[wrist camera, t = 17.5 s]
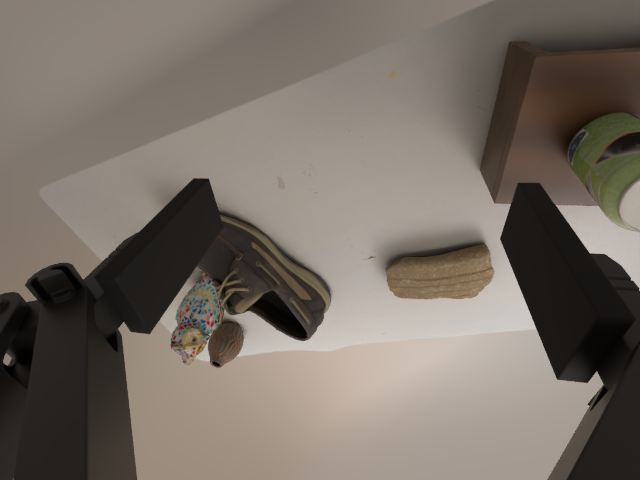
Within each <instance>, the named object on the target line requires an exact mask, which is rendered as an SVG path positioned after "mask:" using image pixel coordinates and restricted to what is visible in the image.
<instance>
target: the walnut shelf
mask: <svg viewBox="0 0 640 480" xmlns="http://www.w3.org/2000/svg"><path fill="white" fill-rule="evenodd" d="M620 112H626V113H633V114H637V115H640V47H637V48H619V49H600V50H581V51H563V52H547V51H545V50H543V49H541V48H538V47H536V46H534V45H532V44H530V43H528V42H526V41H521V42H510V43H509V47H508V51H507V56H506V60H505V64H504V69H503V73H502V77H501V81H500V86H499V90H498V94H497V99H496V103H495V107H494V112H493V116H492V120H491V125H490V129H489V133H488V138H487V142H486V146H485V151H484V155H483V159H482V163H481V168H480V171H481V174H482V176H483V178H484V180H485V183H486V185H487V187H488V189H489V192H490V194H491V196H492V199H493V201H494V203H501V204H511V203H512V200H513V197H514V193H515V190H516V187H517V184H518V183H540V184H541V186H542V187H543V188H544V190H545V191H546V193H547V194H548V195H549V197H550V198H551V200H552V201H553V202H554V204H555V205H586V206H598V204H597V203H596V202H595V200H594V199H593V197H592V196H591V195H590V193H589V192H588V191H587V189H586V188H585V187H584V185H583V184H582V183H581V181H580V180H579V178H578V177H577V176H576V174H575V173H574V172H573V170H572V169H571V167H570V166H569V163H568V159H567V153H568V148H569V145H570V143H571V141H572V139H573V138H574V136H575V135H576V134H577V133H578V132H579V131H580V130H581V129H582V128H583V127H584V126H585V125H587V124H588V123H590V122H591V121H593V120H595V119H597V118H599V117H602V116H605V115H608V114H612V113H620Z"/></svg>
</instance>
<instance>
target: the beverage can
mask: <svg viewBox="0 0 640 480" xmlns="http://www.w3.org/2000/svg"><path fill="white" fill-rule="evenodd" d="M567 159H568V163H569V166H570V167H571V169H572V170H573V172H574V173H575V174H576V176H577V177H578V178H579V180H580V181H581V183H582V184H583V185H584V187H585V188H586V189H587V191H588V192H589V193H590V195H591V196H592V197H593V199H594V200H595V202H596V203H597V204H598V206H599V207H600V208H601V210H602V211H603V212H604V214H605V215H606V217H608V218H609V219H610V220H611V221H612V222H613V223H615V224H616V225H618V226H620V227H622V228H625V229H628V230H632V231H637V232H640V115H637V114H633V113H626V112H620V113H612V114H608V115H605V116H602V117H599V118H597V119H595V120H593V121H591V122H590V123H588V124H587V125H585V126H584V127H583V128H582V129H581V130H580V131H579V132H578V133H577V134H576V135H575V136H574V138H573V139H572V141H571V143H570V145H569V148H568V153H567Z"/></svg>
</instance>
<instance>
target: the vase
mask: <svg viewBox="0 0 640 480" xmlns="http://www.w3.org/2000/svg"><path fill="white" fill-rule="evenodd" d="M243 341H244V335H243V332H242V330H241V328H240V327H239V326H238V325H236V324H233V323H225V324H222V325H220V326H219V327H218V329H217V330H216V331H214V332H213V333H212V335H211V337H210V339H209V343H208V351H209V355H210V363H211V365H212V366H214V367H217V368H219V367H222V366H223V365H224V364H225V363H227V362H229V361H231V360H232V359H234V358H235V357H236V356H237V355H238V354H239V352H240V350H241V348H242V346H243Z"/></svg>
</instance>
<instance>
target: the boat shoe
mask: <svg viewBox="0 0 640 480" xmlns="http://www.w3.org/2000/svg"><path fill="white" fill-rule="evenodd" d="M220 217H221V220H222V223H223V227H224V228H223V229H222V230H221V232H220V233H219V235H218V236H217V238H216V239H215V240H214V242H213V243H212V245H211V246H210V248H209V249H208V251H207V252H206V253H205V255H204V256H203V258H202V259H201V261H200V262H199V264H198V265H197V266H198V267H199V268H200V269H201V270H202V271H203V272H204V273H205V274H206V275H208V276H209V277H210V278H211V279H212V280H213V283H214V285H215V287H216V288H215V290H217V291H218V292H219V293H218V298H219V299H220V300H222V303H221V305H222V307H223V308H224V309H226V311H227V313H229V314H230V315H236V314H241V313H244V312H246V311H251V312H253V313H255V314H256V315H258V316H259V317H261V318H262V319H263V320H265V321H266V322H268V323H269V324H271V325H272V326H273V327H274V328H276V329H277V330H279V331H281V332H282V333H284V334H286V335H288V336H290V337H292V338H294V339H297V340H301V341H306V340H308V339H310V338H311V336H312V335H313V334H314V332H315V331H316V330H317V327H318V326H319V325H320V324H321V323H322V321H323V319H324V313H325V312H326V311H327V310H328V308H329V306H330V302H331V294H330V290H329V288H328V286H327V285H326V284H325V283H324V282H323V281H322V280H321V279H320V278H319V277H318V276H316V275H315V274H313V273H312V272H310V271H308V270H306V269H304V268H302V267H300V266H298V265H296V264H295V263H293V262H292V261H290V260H289V259H288V258H287V257H286V256H285V255H284V254H283V253H282V252H281V251H280V250H279V249H278V248H277V247H276V246H275V244H274V243H273V242H272V241H271V240H270V239H269V238H268V237H266V236H265V235H264V234H262V233H261V232H260V231H258V230H257V229H255V228H253V227H252V226H250V225H248V224H246V223H243V222H241V221H238V220H235V219H233V218H230V217H226V216H223V215H220Z"/></svg>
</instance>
